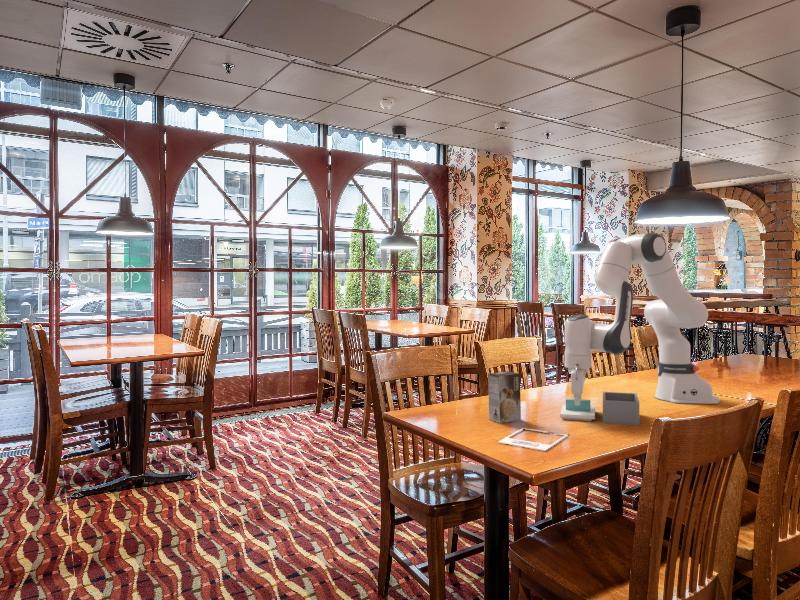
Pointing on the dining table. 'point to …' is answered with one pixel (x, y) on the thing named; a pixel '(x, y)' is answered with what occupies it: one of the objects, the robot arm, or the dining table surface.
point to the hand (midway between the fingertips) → (578, 402)
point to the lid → (578, 410)
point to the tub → (620, 408)
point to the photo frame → (530, 444)
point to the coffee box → (504, 396)
